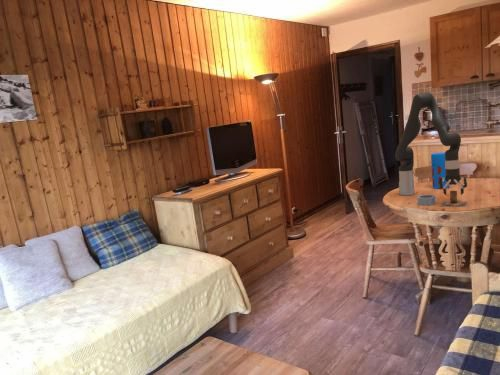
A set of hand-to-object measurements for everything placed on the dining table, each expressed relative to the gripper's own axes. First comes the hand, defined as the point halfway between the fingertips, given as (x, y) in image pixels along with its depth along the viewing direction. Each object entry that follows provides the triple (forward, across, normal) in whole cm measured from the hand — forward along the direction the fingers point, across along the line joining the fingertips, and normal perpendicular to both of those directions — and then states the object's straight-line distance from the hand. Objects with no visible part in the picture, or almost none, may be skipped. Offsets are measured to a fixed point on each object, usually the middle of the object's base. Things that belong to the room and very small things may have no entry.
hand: (453, 194), depth 228 cm
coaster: (+6, 0, 0) cm, 6 cm away
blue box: (+6, -15, +51) cm, 54 cm away
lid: (+6, 0, 0) cm, 6 cm away
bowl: (+6, -15, 0) cm, 16 cm away
